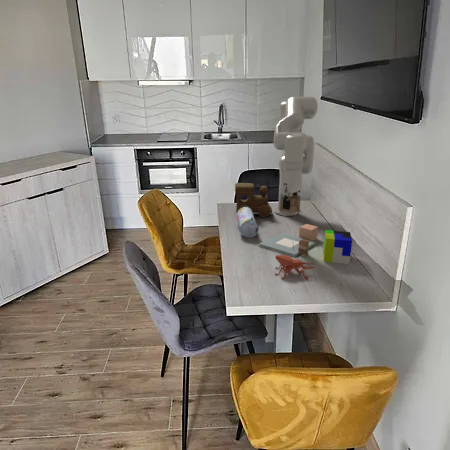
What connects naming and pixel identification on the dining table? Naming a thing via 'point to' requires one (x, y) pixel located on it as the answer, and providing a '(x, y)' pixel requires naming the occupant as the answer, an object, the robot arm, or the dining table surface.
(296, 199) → the walnut block
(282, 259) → the beetle
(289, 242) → the board
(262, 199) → the wooden toy train
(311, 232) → the terracotta block
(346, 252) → the puzzle toy
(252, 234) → the pencil case
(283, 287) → the dining table surface
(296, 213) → the robot arm
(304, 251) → the tower
